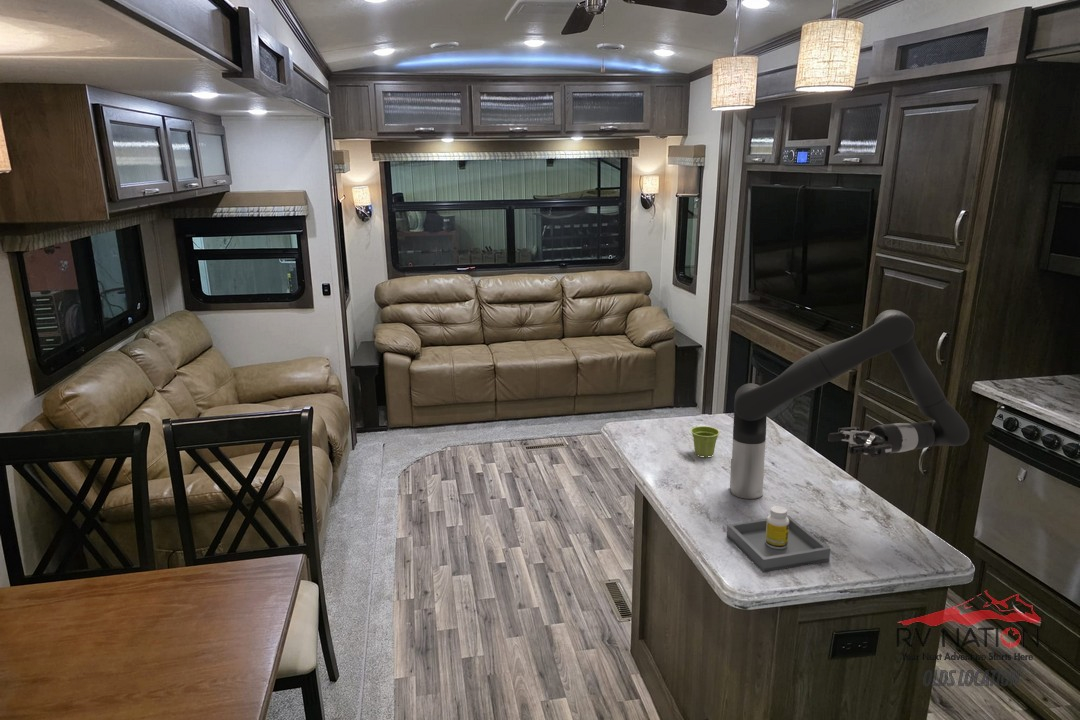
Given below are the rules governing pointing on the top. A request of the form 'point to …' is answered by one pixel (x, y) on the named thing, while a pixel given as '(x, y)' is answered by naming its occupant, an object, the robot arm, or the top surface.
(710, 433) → the plant pot
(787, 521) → the supplement bottle
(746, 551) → the bin
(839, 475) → the top surface
